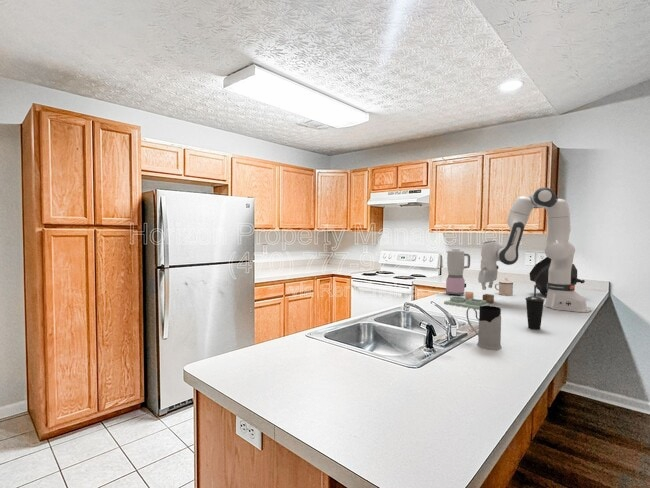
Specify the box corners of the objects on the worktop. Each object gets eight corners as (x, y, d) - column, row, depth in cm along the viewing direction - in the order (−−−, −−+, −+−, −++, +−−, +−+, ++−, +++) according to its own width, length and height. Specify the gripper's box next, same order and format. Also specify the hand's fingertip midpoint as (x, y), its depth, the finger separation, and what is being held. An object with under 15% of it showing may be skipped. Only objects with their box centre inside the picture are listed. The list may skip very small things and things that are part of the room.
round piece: (474, 300, 231) (474, 292, 231) (471, 301, 227) (471, 293, 227) (467, 298, 235) (467, 291, 234) (463, 299, 231) (463, 292, 231)
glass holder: (494, 351, 132) (495, 311, 131) (460, 341, 143) (460, 304, 143) (506, 347, 137) (507, 308, 137) (472, 337, 149) (473, 302, 148)
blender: (445, 295, 246) (446, 249, 245) (445, 292, 258) (446, 248, 257) (470, 296, 241) (471, 249, 240) (469, 294, 253) (469, 249, 252)
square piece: (493, 302, 222) (493, 294, 222) (490, 303, 219) (490, 295, 219) (485, 301, 226) (485, 293, 226) (482, 302, 222) (482, 294, 222)
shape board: (490, 306, 212) (490, 300, 212) (480, 309, 202) (480, 303, 202) (454, 300, 228) (454, 295, 227) (444, 303, 218) (444, 298, 218)
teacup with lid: (514, 294, 251) (515, 278, 250) (510, 296, 244) (510, 279, 244) (496, 292, 259) (497, 276, 259) (492, 294, 253) (492, 277, 252)
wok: (545, 293, 229) (521, 267, 247) (553, 310, 246) (531, 285, 264) (587, 269, 222) (559, 244, 240) (592, 289, 239) (566, 264, 257)
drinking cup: (526, 325, 169) (527, 283, 168) (545, 328, 164) (546, 285, 164) (523, 328, 163) (524, 285, 163) (542, 331, 158) (543, 287, 158)
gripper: (486, 268, 212) (485, 291, 213) (499, 266, 226) (498, 287, 227) (476, 267, 217) (475, 289, 218) (489, 265, 231) (488, 286, 232)
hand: (487, 288), depth 223 cm, fingers open, 8 cm apart
